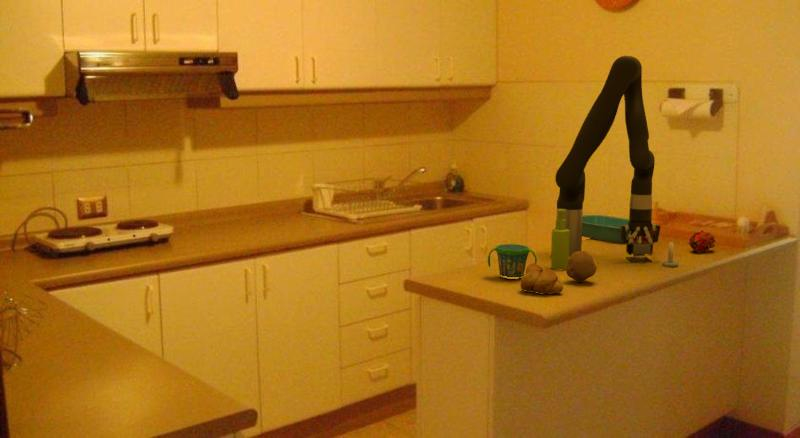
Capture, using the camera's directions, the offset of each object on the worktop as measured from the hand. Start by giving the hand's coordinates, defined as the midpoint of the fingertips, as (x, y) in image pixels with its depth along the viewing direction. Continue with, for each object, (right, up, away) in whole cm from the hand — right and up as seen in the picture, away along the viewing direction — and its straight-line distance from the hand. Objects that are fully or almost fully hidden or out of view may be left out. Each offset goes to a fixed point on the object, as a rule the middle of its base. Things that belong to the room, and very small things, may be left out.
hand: (639, 254), depth 298 cm
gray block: (0, +1, 0) cm, 1 cm away
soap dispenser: (-30, -4, -10) cm, 31 cm away
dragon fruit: (+27, 0, +16) cm, 31 cm away
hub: (+8, -4, -8) cm, 12 cm away
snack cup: (-48, -7, -24) cm, 54 cm away
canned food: (+5, 0, +16) cm, 16 cm away
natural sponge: (-27, -8, -31) cm, 42 cm away
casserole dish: (+2, +4, +47) cm, 47 cm away
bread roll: (-42, -10, -44) cm, 61 cm away
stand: (0, -2, 0) cm, 2 cm away
